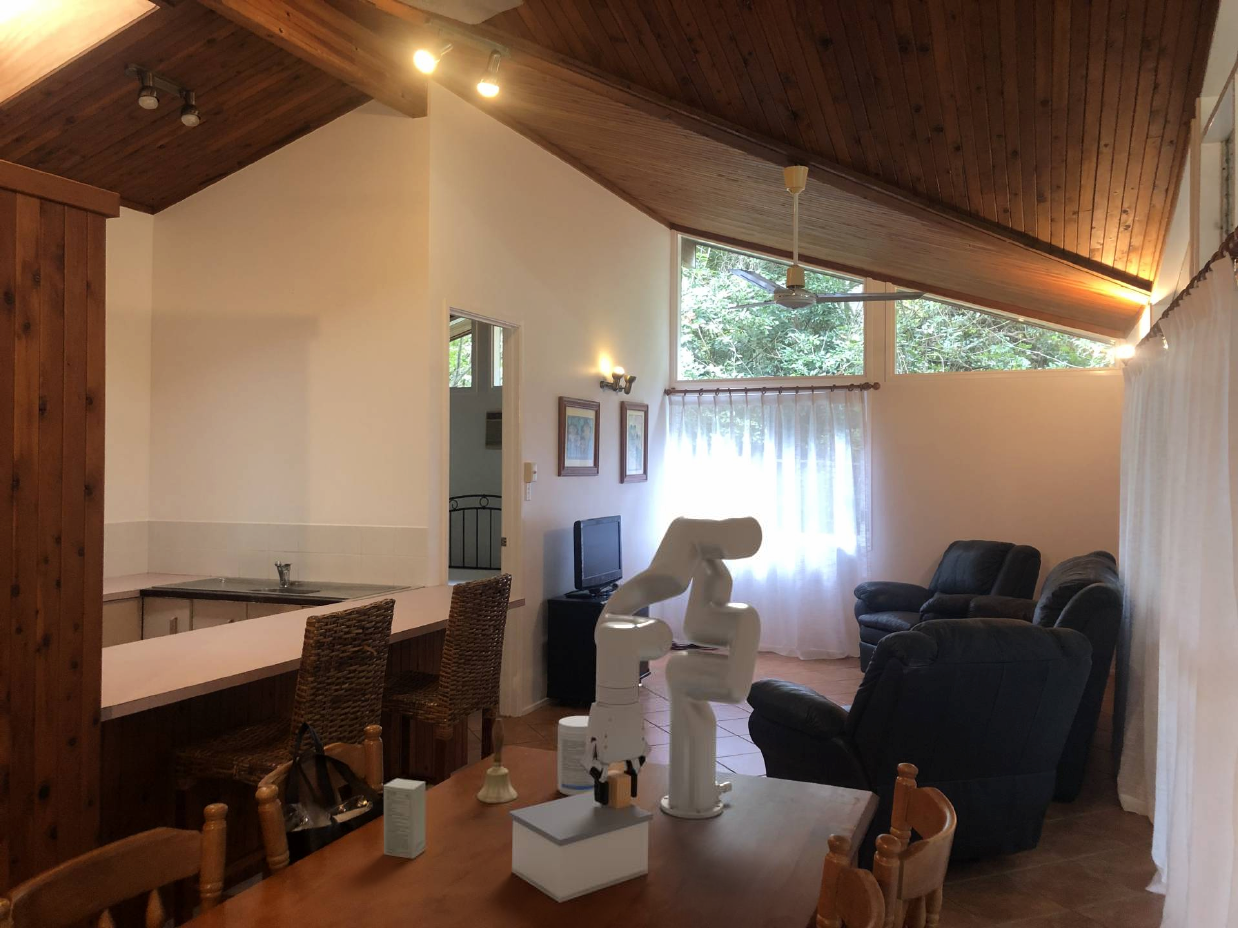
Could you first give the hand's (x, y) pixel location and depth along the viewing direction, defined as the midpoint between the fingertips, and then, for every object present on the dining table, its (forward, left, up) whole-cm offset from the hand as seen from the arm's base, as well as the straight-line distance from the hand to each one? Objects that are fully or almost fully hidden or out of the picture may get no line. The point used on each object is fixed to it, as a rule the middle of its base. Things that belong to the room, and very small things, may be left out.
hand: (615, 797), depth 159 cm
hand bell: (-1, -40, -11) cm, 42 cm away
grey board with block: (+7, 0, -3) cm, 8 cm away
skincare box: (+27, -25, -11) cm, 39 cm away
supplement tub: (-17, -33, -11) cm, 39 cm away
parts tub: (+7, 0, -11) cm, 13 cm away
